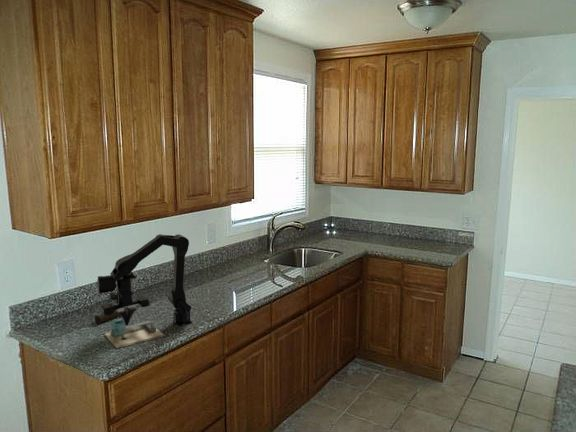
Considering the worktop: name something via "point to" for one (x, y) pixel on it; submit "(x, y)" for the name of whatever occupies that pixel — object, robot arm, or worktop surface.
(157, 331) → the template board
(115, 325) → the sliding leg
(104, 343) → the worktop surface
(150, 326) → the fixed leg
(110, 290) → the robot arm
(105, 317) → the hand tool
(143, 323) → the rail
